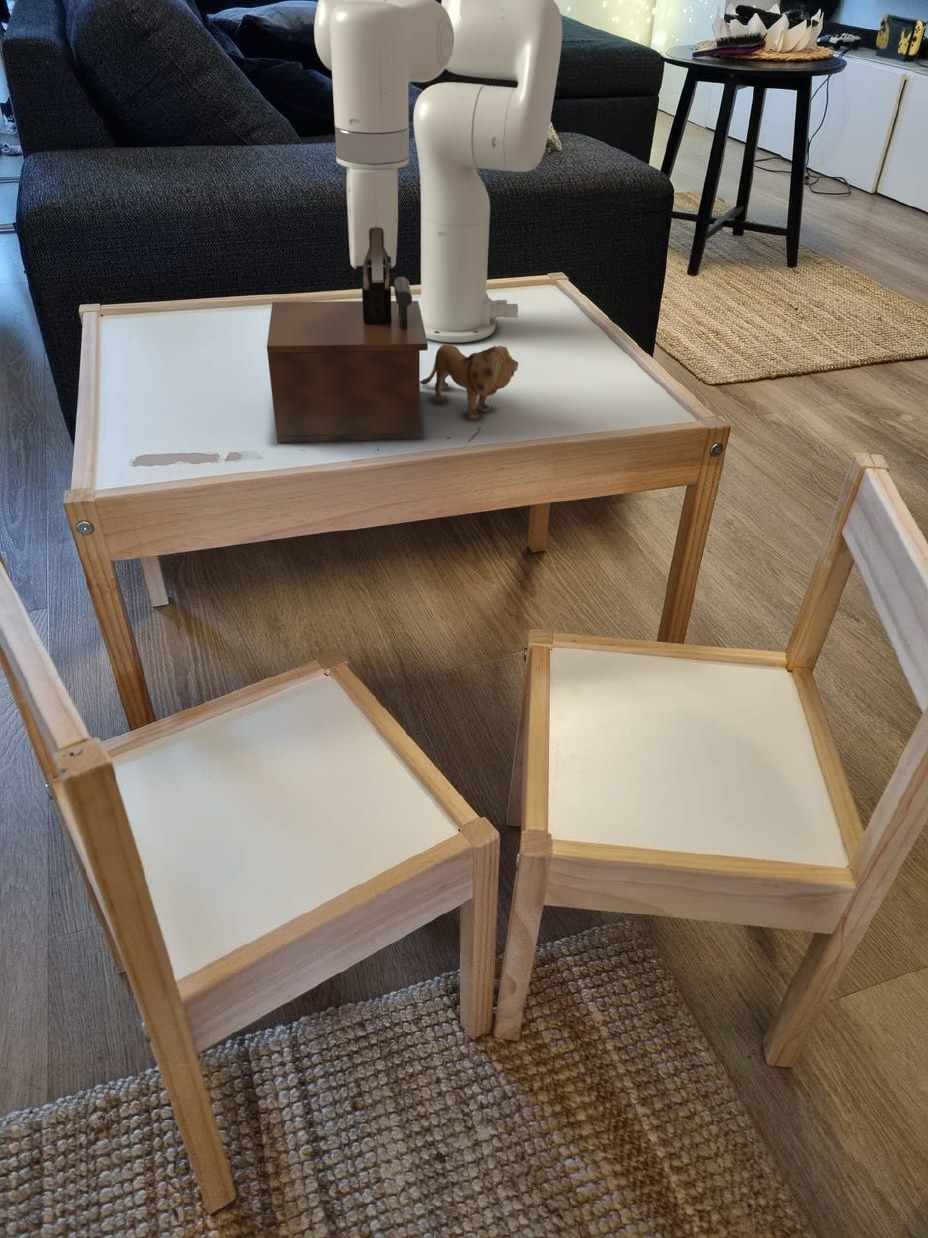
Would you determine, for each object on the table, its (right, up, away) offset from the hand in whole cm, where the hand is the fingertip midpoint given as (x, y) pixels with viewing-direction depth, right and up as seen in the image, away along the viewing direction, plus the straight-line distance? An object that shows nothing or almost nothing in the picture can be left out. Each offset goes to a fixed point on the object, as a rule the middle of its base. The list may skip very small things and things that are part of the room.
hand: (377, 321), depth 106 cm
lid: (-4, -1, 0) cm, 4 cm away
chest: (-4, -9, +7) cm, 12 cm away
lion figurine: (+10, -7, +10) cm, 16 cm away
